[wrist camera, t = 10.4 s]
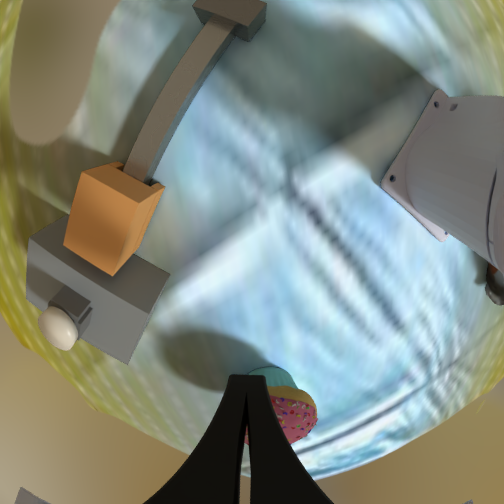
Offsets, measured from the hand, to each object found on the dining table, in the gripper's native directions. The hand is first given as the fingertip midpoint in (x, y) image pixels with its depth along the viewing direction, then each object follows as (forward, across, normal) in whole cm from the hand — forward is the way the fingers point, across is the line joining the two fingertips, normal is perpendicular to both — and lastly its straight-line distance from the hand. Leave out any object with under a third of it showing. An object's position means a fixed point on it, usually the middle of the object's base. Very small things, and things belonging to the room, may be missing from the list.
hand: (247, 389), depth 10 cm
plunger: (+5, +12, +1) cm, 13 cm away
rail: (+10, +6, -10) cm, 15 cm away
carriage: (+10, +9, -5) cm, 14 cm away
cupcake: (+11, -2, +13) cm, 17 cm away
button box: (+10, +12, +1) cm, 16 cm away
